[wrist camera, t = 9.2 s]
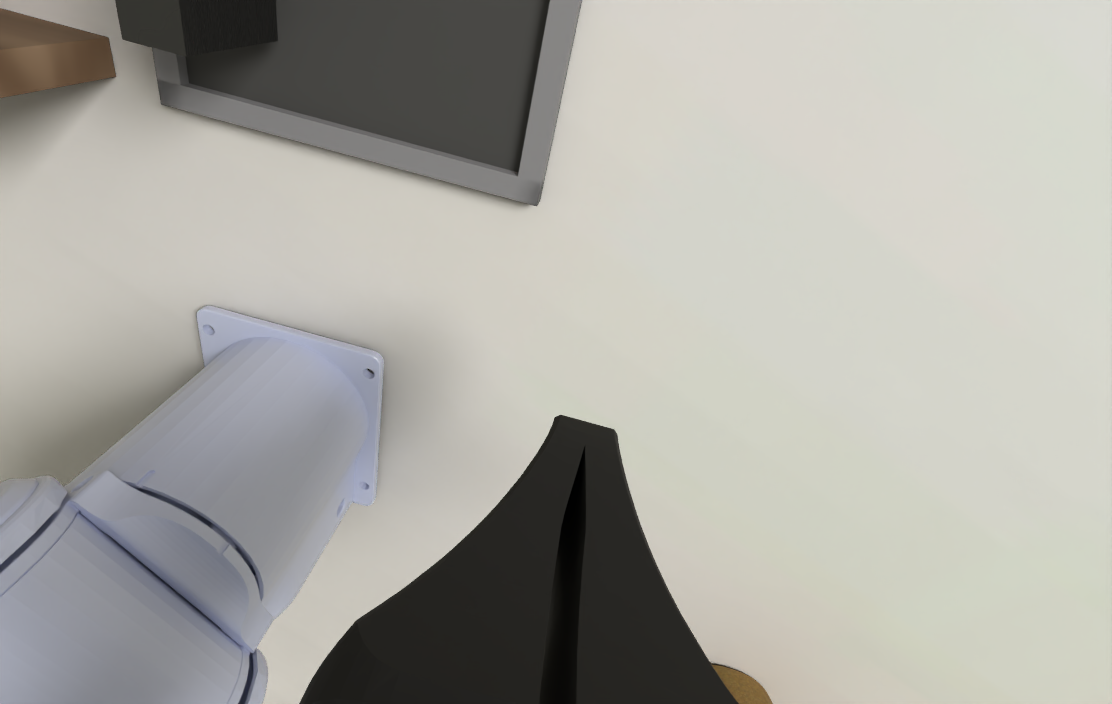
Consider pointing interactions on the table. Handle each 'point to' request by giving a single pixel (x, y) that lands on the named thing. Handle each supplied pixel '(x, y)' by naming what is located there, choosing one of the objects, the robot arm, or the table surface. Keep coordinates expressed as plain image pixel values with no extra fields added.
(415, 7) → the grey flat square panel
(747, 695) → the plant pot
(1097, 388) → the table surface
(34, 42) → the tunnel
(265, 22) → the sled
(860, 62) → the table surface
